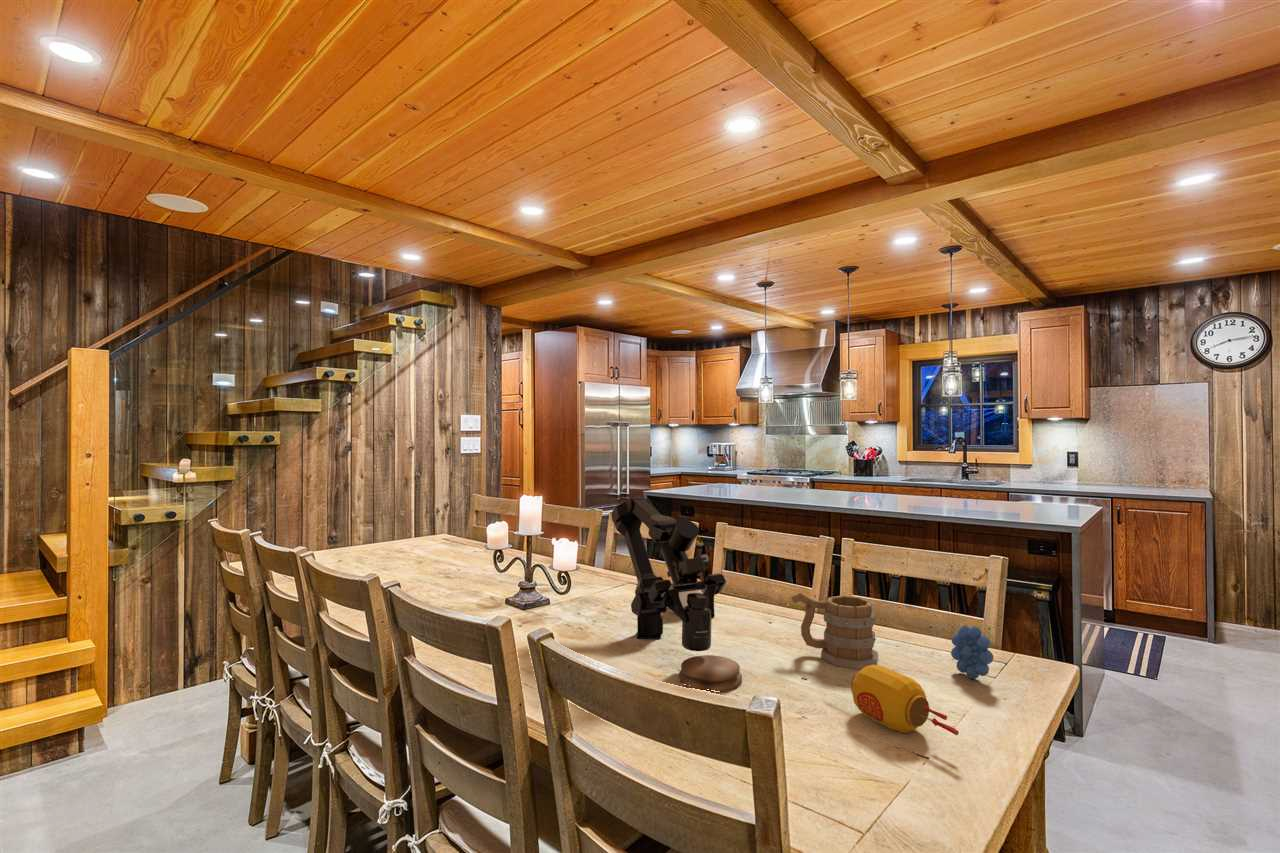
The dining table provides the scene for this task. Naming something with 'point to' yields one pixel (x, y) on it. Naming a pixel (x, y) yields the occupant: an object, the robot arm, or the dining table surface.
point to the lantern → (892, 699)
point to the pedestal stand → (710, 673)
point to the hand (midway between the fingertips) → (699, 619)
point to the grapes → (971, 651)
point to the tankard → (842, 630)
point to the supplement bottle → (697, 623)
